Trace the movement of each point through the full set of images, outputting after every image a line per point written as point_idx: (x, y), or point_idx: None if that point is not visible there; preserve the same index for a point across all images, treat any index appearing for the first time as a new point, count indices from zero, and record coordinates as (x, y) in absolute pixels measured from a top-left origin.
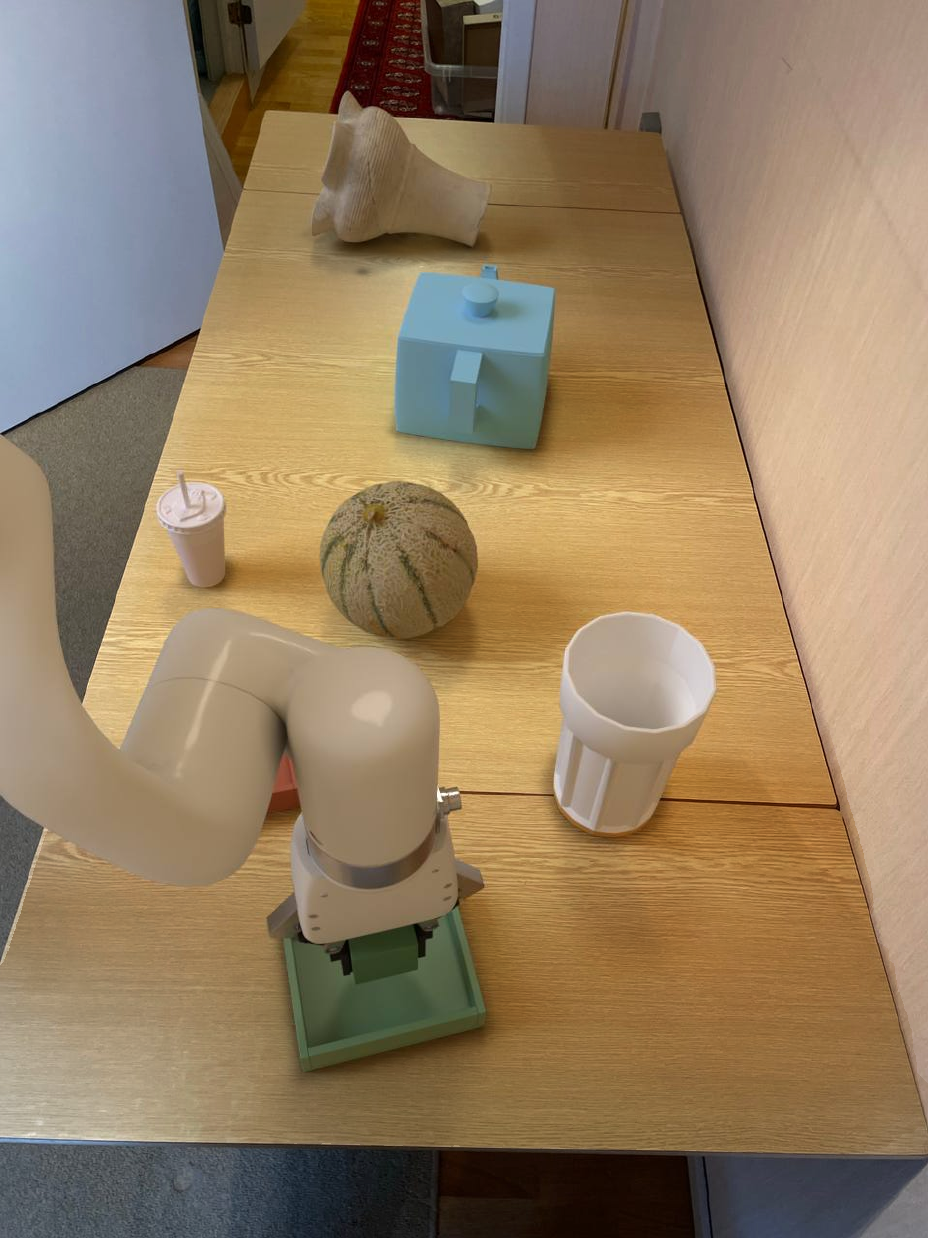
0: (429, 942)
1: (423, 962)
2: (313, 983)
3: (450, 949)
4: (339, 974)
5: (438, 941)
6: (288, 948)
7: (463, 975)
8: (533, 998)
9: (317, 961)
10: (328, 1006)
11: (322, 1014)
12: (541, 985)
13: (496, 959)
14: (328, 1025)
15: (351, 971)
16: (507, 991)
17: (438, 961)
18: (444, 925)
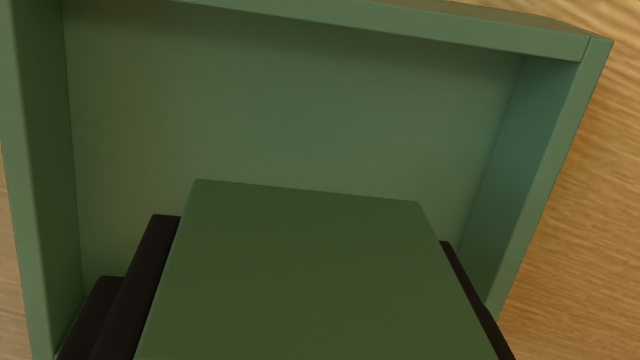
0: (427, 156)
1: (391, 196)
2: (111, 154)
3: (463, 188)
4: (183, 155)
5: (448, 163)
6: (9, 110)
7: (458, 248)
8: (550, 305)
9: (130, 105)
10: (141, 216)
11: (124, 225)
12: (578, 290)
13: None
14: (134, 250)
15: None
16: (516, 281)
17: (424, 205)
18: (483, 130)
